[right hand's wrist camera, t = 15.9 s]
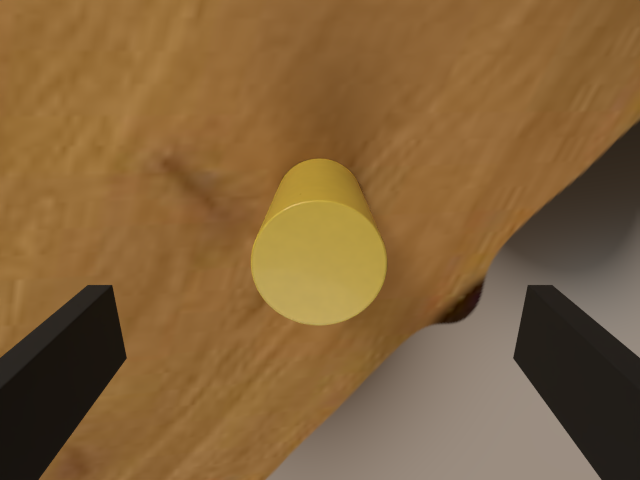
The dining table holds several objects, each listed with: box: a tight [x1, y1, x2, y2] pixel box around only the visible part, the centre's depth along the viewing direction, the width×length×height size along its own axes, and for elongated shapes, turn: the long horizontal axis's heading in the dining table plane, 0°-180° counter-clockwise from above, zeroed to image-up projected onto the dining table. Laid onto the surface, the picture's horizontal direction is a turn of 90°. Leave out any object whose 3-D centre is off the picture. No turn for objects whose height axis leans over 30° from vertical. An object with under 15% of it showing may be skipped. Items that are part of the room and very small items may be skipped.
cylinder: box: [251, 159, 387, 325], centre depth 23 cm, size 6×6×11 cm
